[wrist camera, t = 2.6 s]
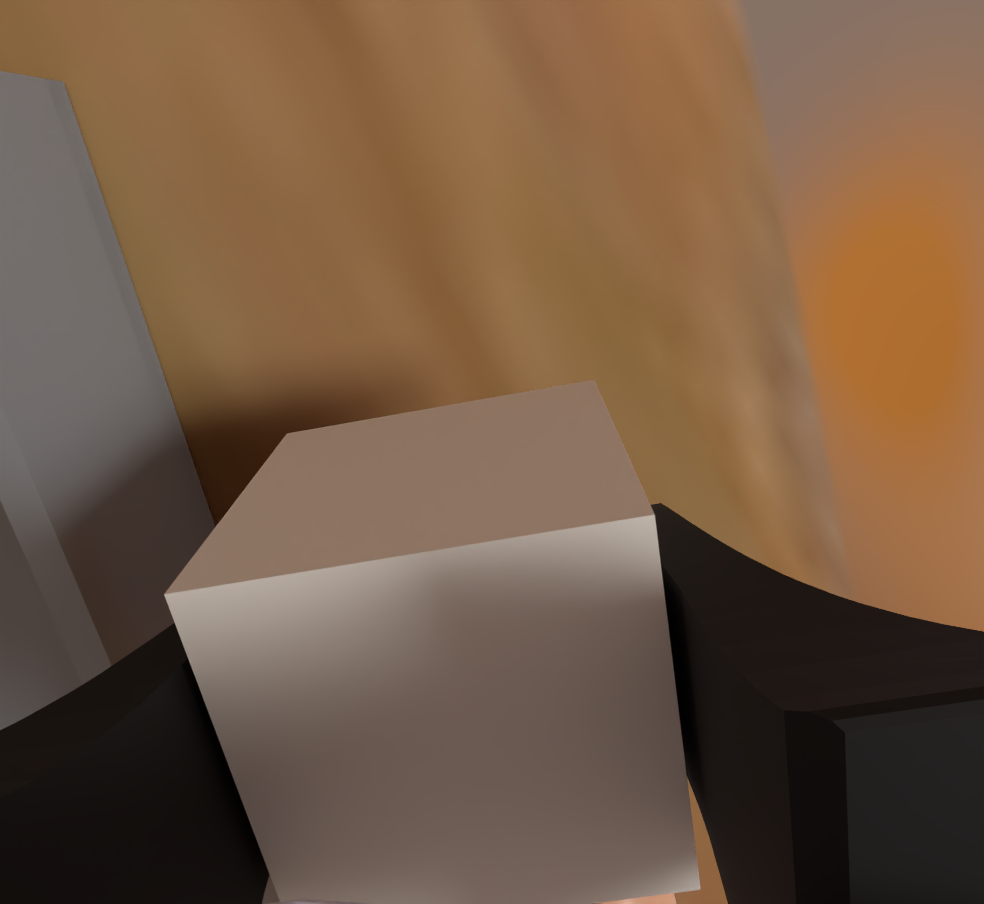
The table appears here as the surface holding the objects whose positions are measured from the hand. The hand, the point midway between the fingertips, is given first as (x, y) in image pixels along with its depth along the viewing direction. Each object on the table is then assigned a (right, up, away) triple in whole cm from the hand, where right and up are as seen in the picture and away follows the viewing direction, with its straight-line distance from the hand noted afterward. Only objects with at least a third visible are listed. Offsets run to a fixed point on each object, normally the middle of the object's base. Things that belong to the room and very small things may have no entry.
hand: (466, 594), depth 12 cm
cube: (0, +1, +1) cm, 2 cm away
